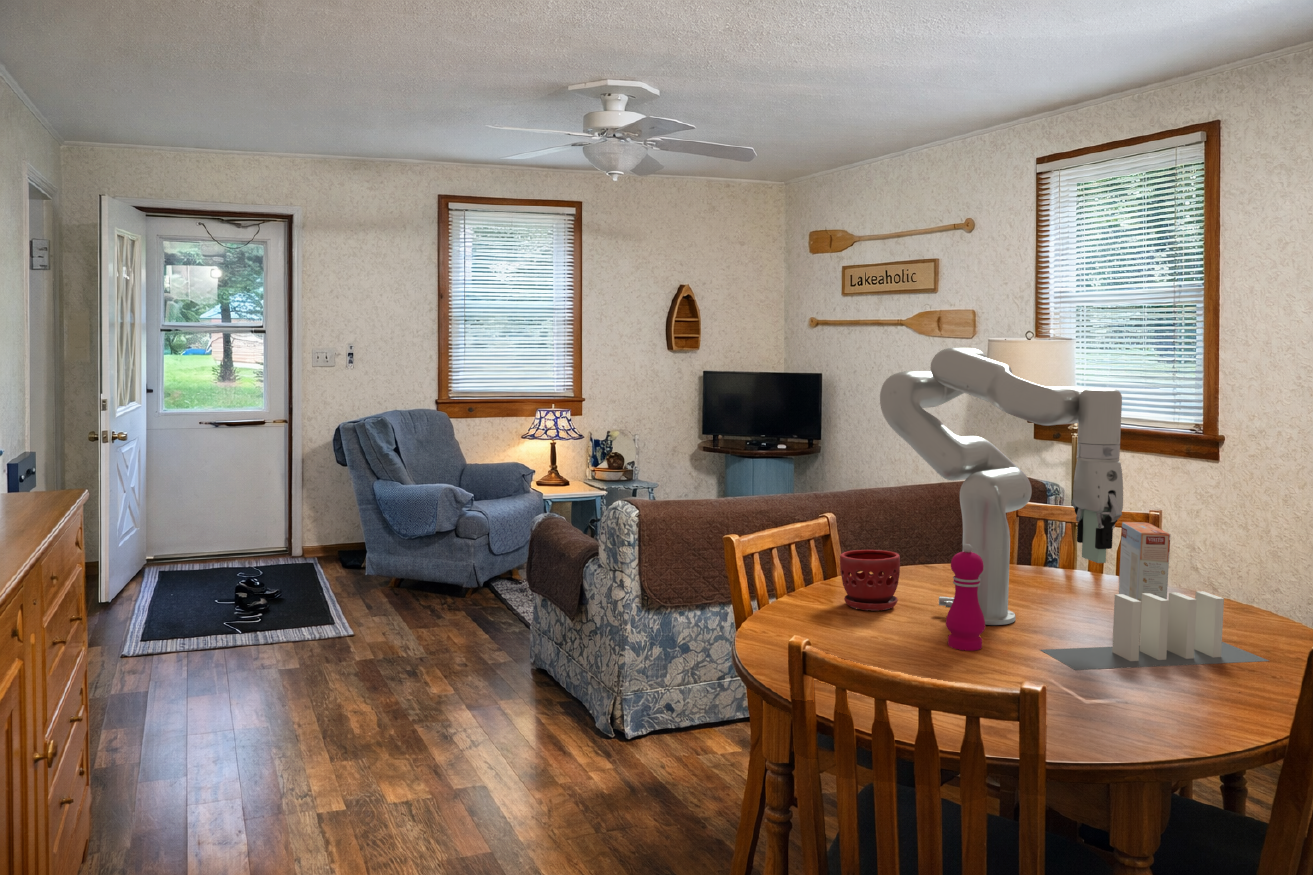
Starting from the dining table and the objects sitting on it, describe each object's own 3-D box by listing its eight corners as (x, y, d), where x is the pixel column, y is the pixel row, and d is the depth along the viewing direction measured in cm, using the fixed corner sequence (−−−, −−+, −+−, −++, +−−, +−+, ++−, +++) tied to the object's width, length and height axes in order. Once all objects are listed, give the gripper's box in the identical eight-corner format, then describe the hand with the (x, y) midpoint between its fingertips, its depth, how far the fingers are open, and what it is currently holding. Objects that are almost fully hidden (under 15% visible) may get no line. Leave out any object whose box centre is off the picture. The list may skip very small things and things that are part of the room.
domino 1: (1130, 661, 178) (1132, 601, 177) (1112, 652, 183) (1114, 594, 182) (1138, 660, 178) (1141, 601, 177) (1120, 651, 183) (1122, 594, 182)
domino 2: (1158, 659, 178) (1160, 600, 178) (1139, 650, 184) (1141, 593, 183) (1166, 659, 179) (1169, 600, 178) (1147, 650, 184) (1149, 593, 183)
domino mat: (1075, 672, 173) (1075, 669, 173) (1039, 652, 185) (1039, 649, 185) (1269, 663, 178) (1269, 660, 178) (1222, 644, 190) (1223, 641, 190)
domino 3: (1185, 658, 179) (1188, 599, 178) (1166, 649, 185) (1168, 592, 184) (1193, 658, 179) (1196, 599, 178) (1174, 649, 185) (1176, 592, 184)
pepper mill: (964, 653, 184) (967, 548, 182) (937, 643, 190) (939, 542, 188) (992, 648, 187) (996, 545, 185) (964, 638, 193) (967, 539, 192)
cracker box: (1167, 637, 195) (1172, 533, 193) (1134, 635, 196) (1139, 532, 194) (1146, 618, 208) (1151, 521, 207) (1116, 617, 210) (1120, 520, 208)
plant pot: (897, 600, 224) (898, 548, 223) (901, 615, 211) (902, 560, 210) (839, 597, 226) (839, 546, 225) (839, 612, 213) (840, 558, 212)
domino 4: (1213, 657, 180) (1216, 598, 179) (1192, 648, 185) (1195, 591, 184) (1221, 657, 180) (1224, 598, 179) (1200, 648, 186) (1203, 591, 185)
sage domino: (1097, 563, 187) (1100, 506, 186) (1081, 557, 193) (1083, 501, 192) (1105, 562, 188) (1108, 506, 187) (1089, 556, 193) (1091, 501, 192)
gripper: (1144, 457, 180) (1139, 554, 182) (1090, 448, 197) (1086, 536, 199) (1106, 457, 179) (1102, 555, 181) (1055, 448, 196) (1052, 537, 198)
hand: (1094, 544), depth 190 cm, fingers closed on sage domino, 5 cm apart
